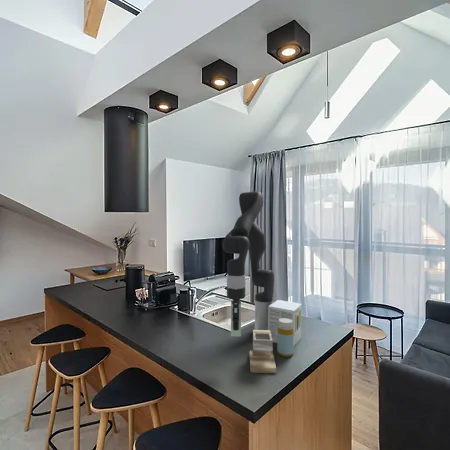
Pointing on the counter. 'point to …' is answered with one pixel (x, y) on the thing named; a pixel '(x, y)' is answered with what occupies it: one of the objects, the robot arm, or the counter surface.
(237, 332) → the rail post
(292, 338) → the bottle
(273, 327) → the supplement box
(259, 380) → the counter surface
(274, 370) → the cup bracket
